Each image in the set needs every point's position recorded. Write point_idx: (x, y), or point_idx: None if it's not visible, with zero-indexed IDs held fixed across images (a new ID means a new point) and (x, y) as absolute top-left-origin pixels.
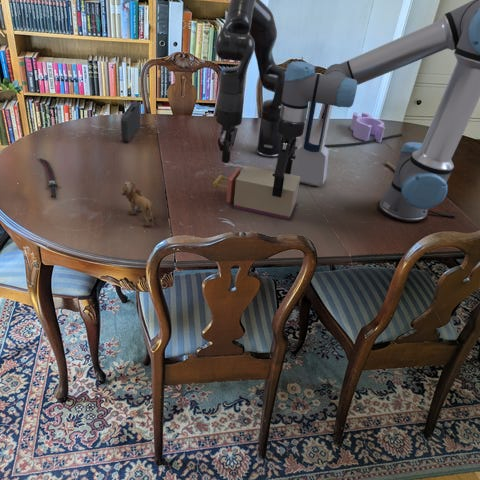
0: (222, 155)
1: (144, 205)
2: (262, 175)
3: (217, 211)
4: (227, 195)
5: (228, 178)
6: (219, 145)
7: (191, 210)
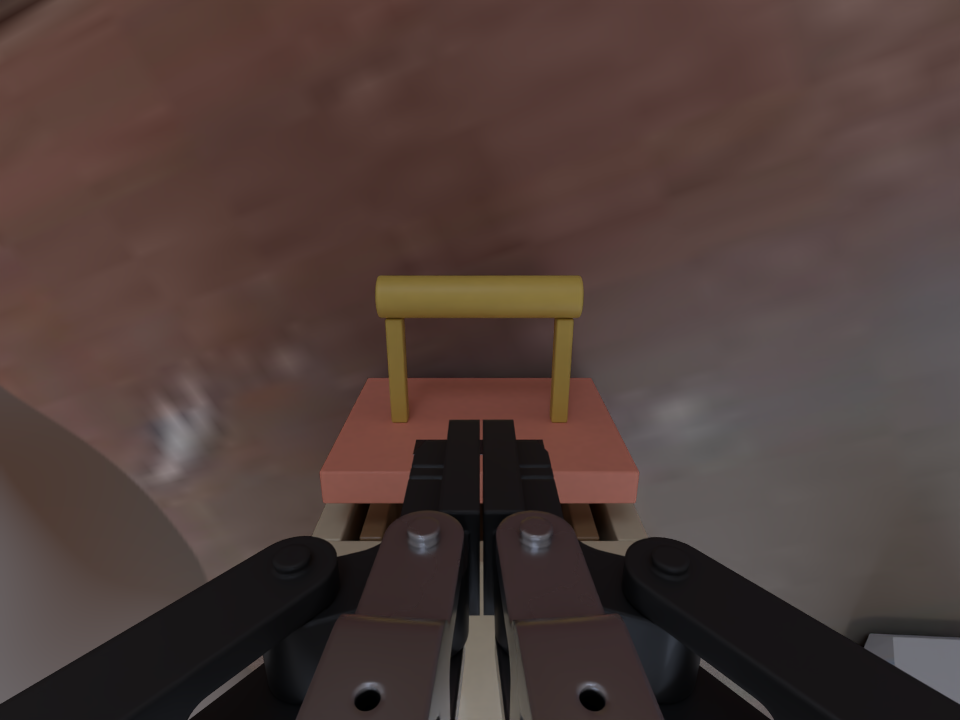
0: (445, 467)
1: None
2: (499, 715)
3: (261, 343)
4: (355, 404)
5: (554, 373)
6: (20, 713)
7: (167, 171)
